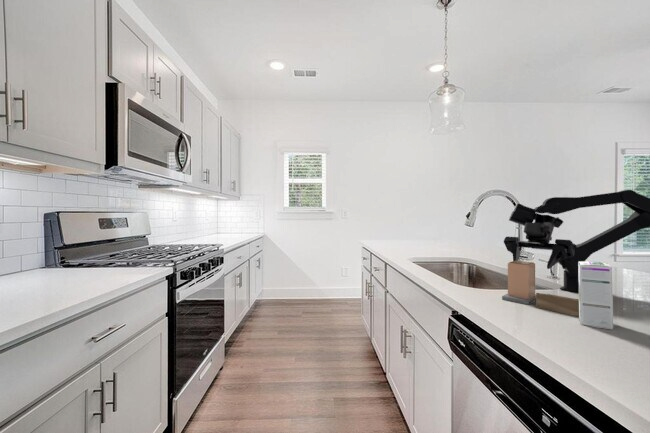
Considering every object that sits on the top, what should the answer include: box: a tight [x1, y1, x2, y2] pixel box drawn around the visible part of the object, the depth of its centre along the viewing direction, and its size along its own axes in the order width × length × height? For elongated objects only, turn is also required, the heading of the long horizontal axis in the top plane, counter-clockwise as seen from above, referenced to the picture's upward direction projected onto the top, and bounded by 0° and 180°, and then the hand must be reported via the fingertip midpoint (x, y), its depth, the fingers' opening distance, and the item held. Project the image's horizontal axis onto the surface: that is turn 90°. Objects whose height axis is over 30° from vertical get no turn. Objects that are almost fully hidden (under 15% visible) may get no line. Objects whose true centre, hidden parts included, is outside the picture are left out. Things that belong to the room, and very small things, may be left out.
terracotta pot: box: [507, 260, 536, 299], centre depth 90 cm, size 6×6×10 cm
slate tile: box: [501, 293, 536, 306], centre depth 90 cm, size 10×7×1 cm
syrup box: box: [578, 260, 614, 331], centre depth 70 cm, size 6×6×14 cm
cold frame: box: [535, 292, 579, 317], centre depth 81 cm, size 10×10×4 cm
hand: (530, 266), depth 95 cm, fingers open, 9 cm apart
